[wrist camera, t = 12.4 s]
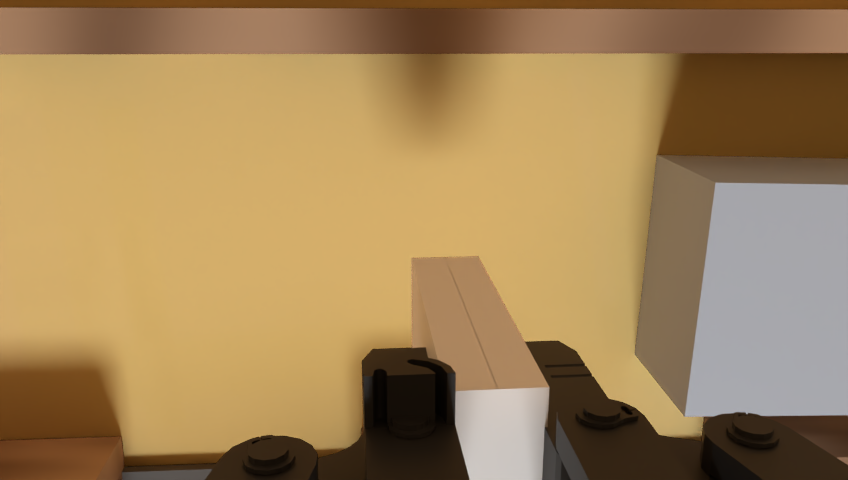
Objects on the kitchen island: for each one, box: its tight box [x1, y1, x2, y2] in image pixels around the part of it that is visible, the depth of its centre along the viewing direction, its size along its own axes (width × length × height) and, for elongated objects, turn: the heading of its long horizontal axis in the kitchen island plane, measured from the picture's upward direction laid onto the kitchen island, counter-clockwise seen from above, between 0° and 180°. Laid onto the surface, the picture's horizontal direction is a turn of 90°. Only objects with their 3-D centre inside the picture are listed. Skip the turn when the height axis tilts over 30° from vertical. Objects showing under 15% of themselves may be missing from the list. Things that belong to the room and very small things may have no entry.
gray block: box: [635, 155, 848, 417], centre depth 21 cm, size 6×6×4 cm
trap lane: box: [0, 8, 848, 480], centre depth 21 cm, size 33×20×4 cm, turn 90°
